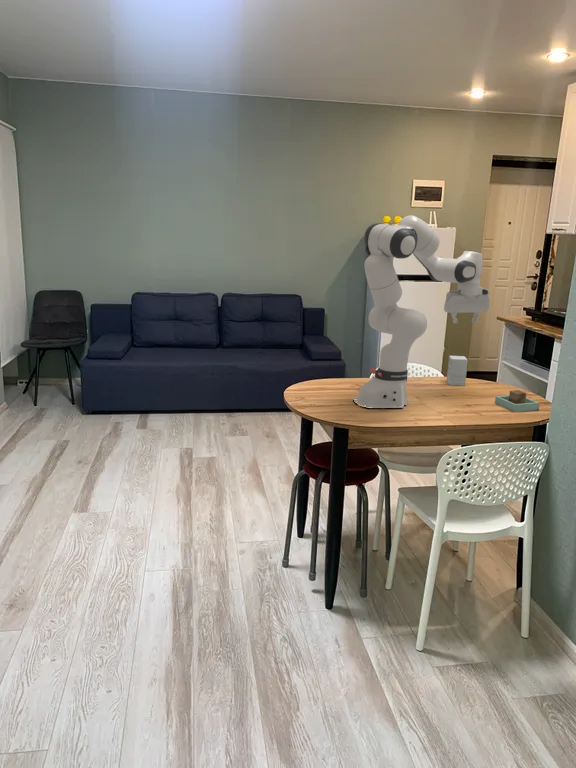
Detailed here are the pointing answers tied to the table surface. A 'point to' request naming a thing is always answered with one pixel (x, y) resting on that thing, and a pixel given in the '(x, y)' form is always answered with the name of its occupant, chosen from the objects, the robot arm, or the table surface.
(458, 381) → the supplement box
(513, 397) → the walnut block
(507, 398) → the sage tray
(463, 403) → the table surface
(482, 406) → the table surface
